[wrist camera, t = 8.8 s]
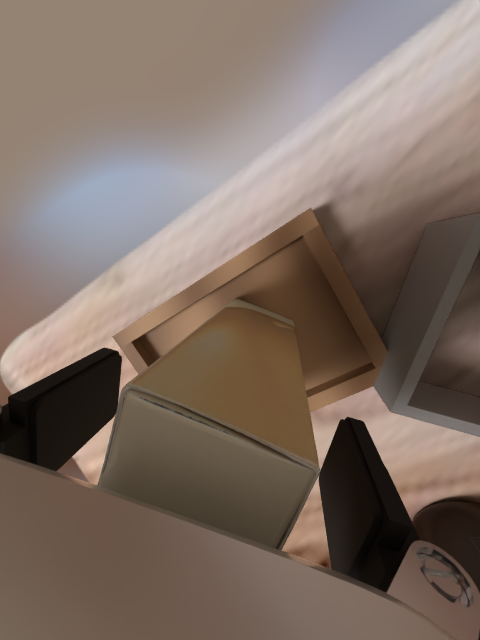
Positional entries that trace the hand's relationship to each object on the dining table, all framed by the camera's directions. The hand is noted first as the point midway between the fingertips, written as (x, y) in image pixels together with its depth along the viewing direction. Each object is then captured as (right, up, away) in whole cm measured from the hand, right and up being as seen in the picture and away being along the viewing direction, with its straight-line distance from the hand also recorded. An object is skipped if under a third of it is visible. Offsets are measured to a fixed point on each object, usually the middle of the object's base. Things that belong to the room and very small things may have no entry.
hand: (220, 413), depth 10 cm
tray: (+1, +2, +7) cm, 8 cm away
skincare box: (+1, +2, +7) cm, 7 cm away
